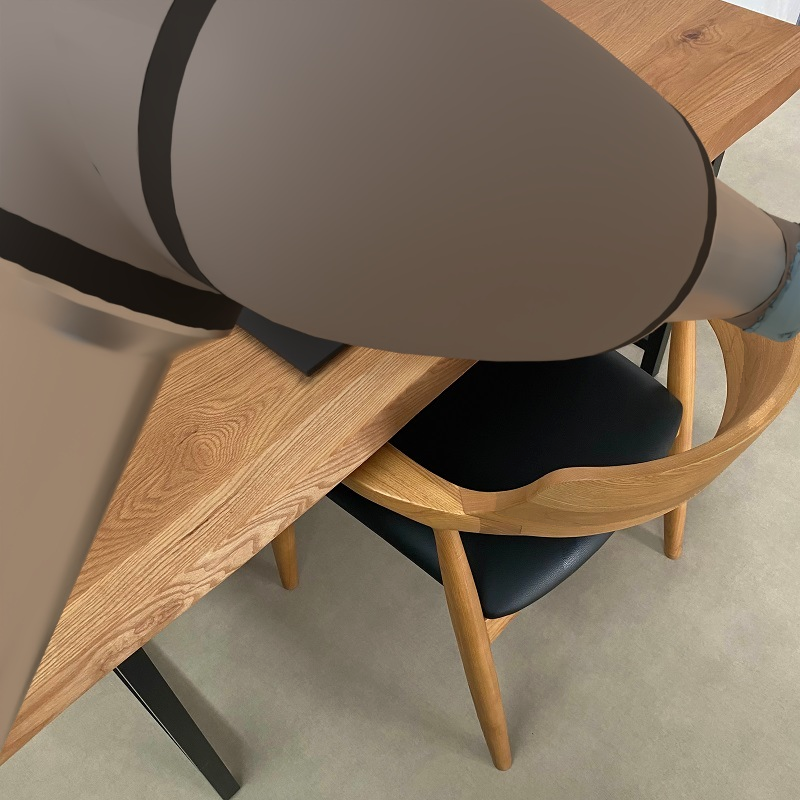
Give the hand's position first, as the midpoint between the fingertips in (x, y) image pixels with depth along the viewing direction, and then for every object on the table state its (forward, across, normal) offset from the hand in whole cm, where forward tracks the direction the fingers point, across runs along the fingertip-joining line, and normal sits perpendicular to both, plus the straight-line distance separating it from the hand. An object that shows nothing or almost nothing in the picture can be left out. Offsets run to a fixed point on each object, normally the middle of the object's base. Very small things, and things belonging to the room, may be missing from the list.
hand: (236, 218), depth 77 cm
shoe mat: (-10, +13, -10) cm, 20 cm away
